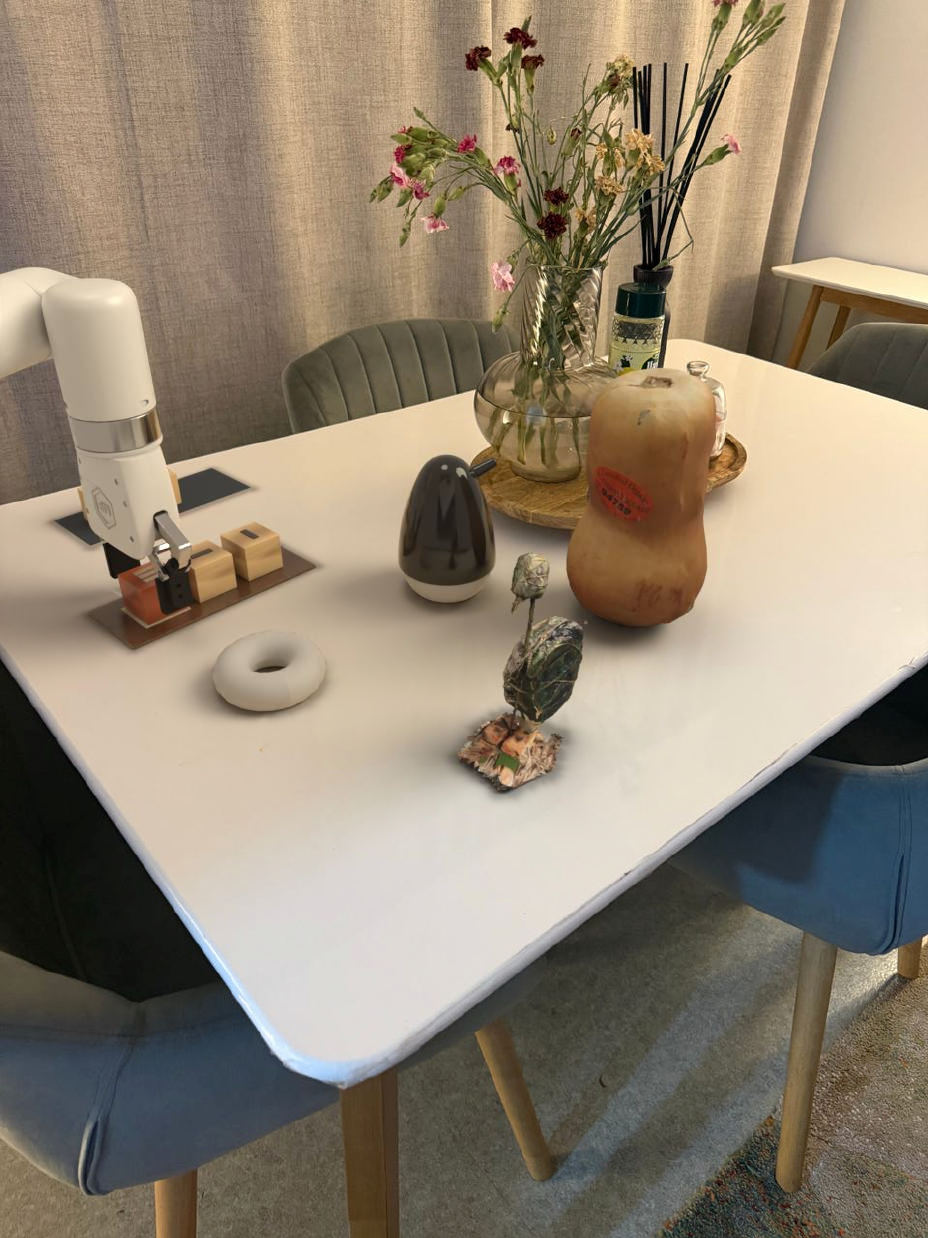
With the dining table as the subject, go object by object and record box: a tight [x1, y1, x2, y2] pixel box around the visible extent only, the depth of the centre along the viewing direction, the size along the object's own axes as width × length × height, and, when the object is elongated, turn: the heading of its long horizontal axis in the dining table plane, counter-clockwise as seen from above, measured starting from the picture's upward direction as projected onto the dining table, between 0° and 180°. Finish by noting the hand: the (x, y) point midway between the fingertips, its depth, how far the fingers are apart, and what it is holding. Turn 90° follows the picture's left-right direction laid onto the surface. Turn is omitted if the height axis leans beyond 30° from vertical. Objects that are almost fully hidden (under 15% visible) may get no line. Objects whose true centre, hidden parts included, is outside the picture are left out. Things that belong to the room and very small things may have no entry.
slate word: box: [54, 467, 251, 546], centre depth 109 cm, size 9×22×5 cm, turn 137°
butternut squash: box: [565, 367, 717, 629], centre depth 84 cm, size 14×13×25 cm
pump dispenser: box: [397, 453, 498, 604], centre depth 90 cm, size 10×10×15 cm
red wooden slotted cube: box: [117, 561, 188, 625], centre depth 89 cm, size 4×4×4 cm
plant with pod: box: [457, 552, 588, 791], centre depth 68 cm, size 8×11×20 cm
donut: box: [212, 630, 327, 712], centre depth 80 cm, size 10×4×10 cm
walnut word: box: [87, 521, 317, 651], centre depth 93 cm, size 9×22×5 cm, turn 137°
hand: (151, 590), depth 89 cm, fingers open, 9 cm apart
